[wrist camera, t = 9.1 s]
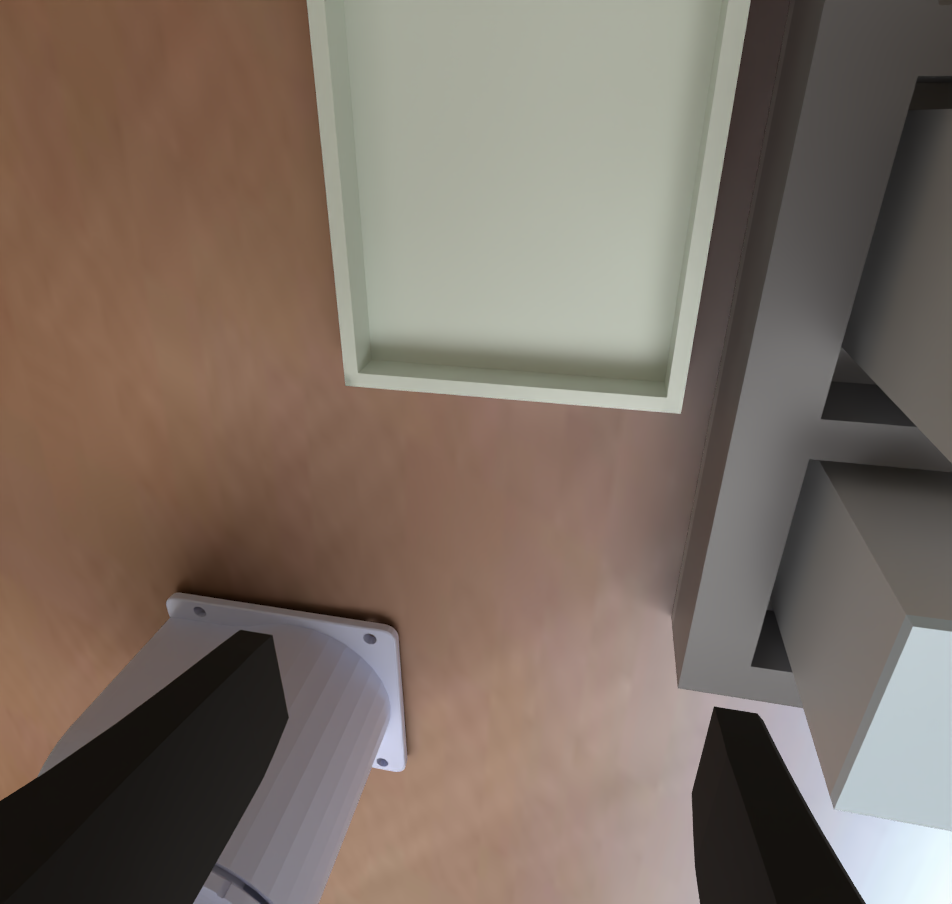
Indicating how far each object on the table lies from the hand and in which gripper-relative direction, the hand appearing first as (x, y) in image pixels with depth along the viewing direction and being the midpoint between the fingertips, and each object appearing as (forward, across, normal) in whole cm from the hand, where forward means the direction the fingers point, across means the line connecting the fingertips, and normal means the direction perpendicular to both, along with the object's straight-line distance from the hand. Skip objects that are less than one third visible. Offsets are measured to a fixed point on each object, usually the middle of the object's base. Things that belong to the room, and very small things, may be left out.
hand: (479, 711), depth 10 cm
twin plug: (+9, -9, +2) cm, 13 cm away
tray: (+10, +1, -8) cm, 13 cm away
